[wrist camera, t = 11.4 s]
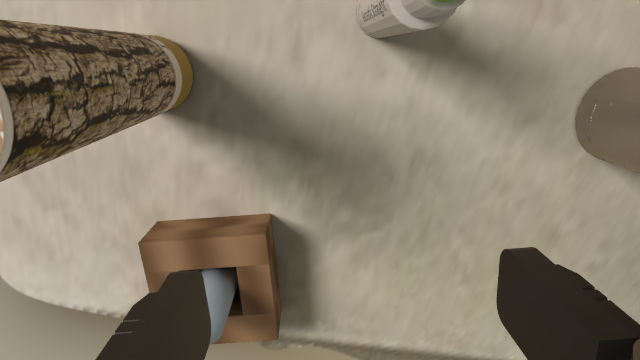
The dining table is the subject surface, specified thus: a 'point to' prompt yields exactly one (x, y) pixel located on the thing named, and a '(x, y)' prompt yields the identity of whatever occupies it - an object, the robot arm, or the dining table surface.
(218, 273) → the peg
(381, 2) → the bottle
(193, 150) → the dining table surface
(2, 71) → the brown bark cylinder
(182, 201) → the dining table surface
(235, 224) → the socket block
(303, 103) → the dining table surface
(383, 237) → the dining table surface
